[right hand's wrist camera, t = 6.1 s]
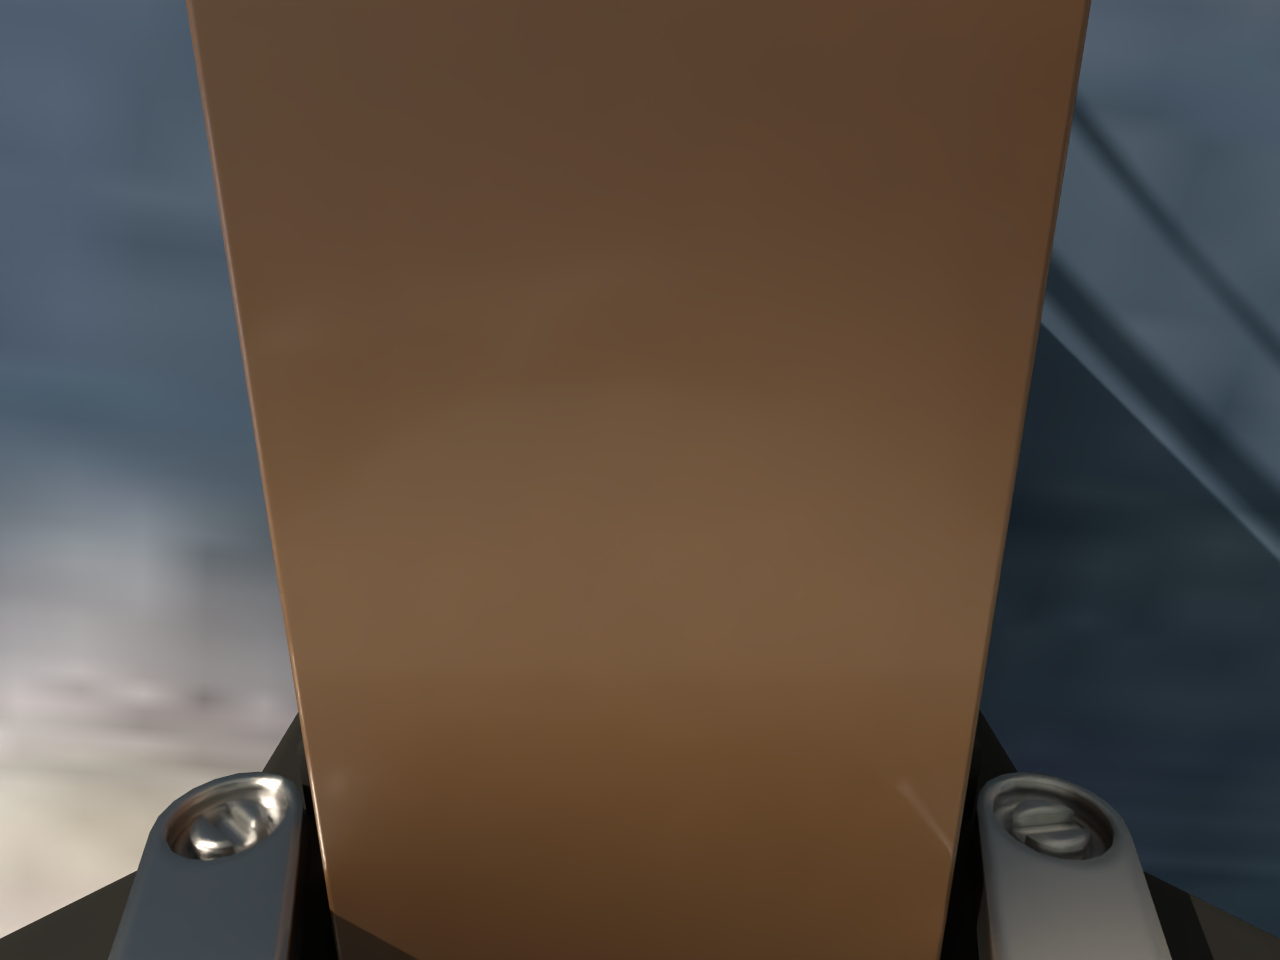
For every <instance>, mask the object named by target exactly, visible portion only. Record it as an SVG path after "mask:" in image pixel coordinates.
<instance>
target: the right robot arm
mask: <svg viewBox="0 0 1280 960" xmlns="http://www.w3.org/2000/svg"><path fill="white" fill-rule="evenodd" d="M0 960H338V958H337V951H336V945H335V939H334V932H333V926H332V920H331V913H330V907H329V901H328V895H327V888H326V882H325V876H324V869H323V863H322V857H321V850H320V844H319V838H318V831H317V825H316V819H315V812H314V806H313V800H312V794H311V787H310V781H309V775H308V768H307V762H306V756H305V749H304V743H303V737H302V730H301V724H300V718H299V712H298V714H297V715H296V717H295V719H294V720H293V722H292V723H291V725H290V727H289V728H288V730H287V732H286V733H285V735H284V737H283V738H282V740H281V742H280V743H279V745H278V747H277V748H276V750H275V751H274V753H273V755H272V756H271V758H270V760H269V761H268V763H267V765H266V766H265V768H264V770H263V771H262V772H251V773H238V774H234V775H230V776H226V777H222V778H218V779H214V780H212V781H210V782H208V783H205V784H203V785H201V786H198V787H196V788H194V789H192V790H190V791H189V792H187V793H186V794H184V795H183V796H181V797H180V798H178V799H177V800H175V801H174V802H173V803H172V804H171V805H170V806H169V807H168V808H167V809H166V810H165V811H164V812H163V813H162V814H161V815H160V816H159V817H158V818H157V820H156V822H155V824H154V826H153V827H152V829H151V831H150V833H149V836H148V839H147V842H146V845H145V849H144V852H143V855H142V858H141V861H140V864H139V867H138V870H137V871H135V872H133V873H131V874H129V875H127V876H125V877H123V878H121V879H119V880H117V881H115V882H113V883H111V884H109V885H107V886H105V887H103V888H101V889H99V890H97V891H95V892H93V893H91V894H89V895H87V896H85V897H83V898H81V899H79V900H77V901H75V902H73V903H71V904H69V905H67V906H65V907H63V908H61V909H59V910H57V911H55V912H53V913H51V914H49V915H47V916H45V917H43V918H41V919H39V920H37V921H35V922H33V923H31V924H29V925H27V926H25V927H23V928H21V929H19V930H17V931H15V932H13V933H11V934H9V935H7V936H5V937H3V938H1V939H0ZM940 960H1280V939H1279V938H1277V937H1275V936H1273V935H1271V934H1269V933H1267V932H1265V931H1263V930H1261V929H1259V928H1257V927H1255V926H1253V925H1251V924H1249V923H1247V922H1245V921H1243V920H1241V919H1239V918H1237V917H1235V916H1233V915H1231V914H1229V913H1226V912H1224V911H1222V910H1220V909H1218V908H1216V907H1214V906H1212V905H1210V904H1208V903H1206V902H1204V901H1202V900H1200V899H1198V898H1196V897H1194V896H1192V895H1190V894H1188V893H1186V892H1184V891H1182V890H1180V889H1178V888H1176V887H1174V886H1172V885H1170V884H1168V883H1166V882H1164V881H1162V880H1160V879H1158V878H1156V877H1154V876H1152V875H1150V874H1148V873H1146V872H1144V871H1143V870H1142V867H1141V864H1140V861H1139V858H1138V855H1137V852H1136V849H1135V845H1134V842H1133V839H1132V836H1131V833H1130V831H1129V829H1128V827H1127V826H1126V824H1125V822H1124V820H1123V818H1122V817H1121V816H1120V815H1119V814H1118V813H1117V812H1116V811H1115V810H1114V809H1113V808H1112V807H1111V806H1110V805H1109V804H1108V803H1107V802H1106V801H1105V800H1103V799H1102V798H1100V797H1099V796H1097V795H1096V794H1094V793H1093V792H1091V791H1090V790H1088V789H1086V788H1084V787H1082V786H1079V785H1077V784H1075V783H1072V782H1070V781H1068V780H1066V779H1062V778H1058V777H1054V776H1050V775H1046V774H1042V773H1029V772H1017V771H1016V769H1015V767H1014V766H1013V764H1012V762H1011V761H1010V759H1009V757H1008V756H1007V754H1006V752H1005V751H1004V749H1003V748H1002V746H1001V744H1000V743H999V741H998V739H997V738H996V736H995V734H994V733H993V731H992V729H991V728H990V726H989V724H988V723H987V721H986V719H985V718H984V716H983V715H982V713H981V711H980V710H979V715H978V721H977V728H976V734H975V740H974V747H973V753H972V759H971V766H970V772H969V778H968V785H967V791H966V797H965V804H964V810H963V816H962V823H961V829H960V835H959V842H958V848H957V854H956V861H955V867H954V873H953V880H952V886H951V892H950V899H949V905H948V911H947V918H946V924H945V930H944V937H943V943H942V949H941V956H940Z"/></svg>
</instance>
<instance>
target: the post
mask: <svg viewBox="0 0 1280 960" xmlns="http://www.w3.org/2000/svg"><path fill="white" fill-rule="evenodd" d="M186 5H187V11H188V17H189V24H190V30H191V36H192V42H193V49H194V55H195V61H196V68H197V74H198V80H199V87H200V93H201V99H202V106H203V112H204V118H205V125H206V131H207V137H208V143H209V150H210V156H211V162H212V169H213V175H214V181H215V188H216V194H217V200H218V207H219V213H220V219H221V226H222V232H223V238H224V244H225V251H226V257H227V263H228V270H229V276H230V282H231V289H232V295H233V301H234V308H235V314H236V320H237V326H238V333H239V339H240V345H241V352H242V358H243V364H244V371H245V377H246V383H247V390H248V396H249V402H250V409H251V415H252V421H253V427H254V434H255V440H256V446H257V453H258V459H259V465H260V472H261V478H262V484H263V491H264V497H265V503H266V510H267V516H268V522H269V528H270V535H271V541H272V547H273V554H274V560H275V566H276V573H277V579H278V585H279V592H280V598H281V604H282V610H283V617H284V623H285V629H286V636H287V642H288V648H289V655H290V661H291V667H292V674H293V680H294V686H295V693H296V699H297V705H298V711H299V718H300V724H301V730H302V737H303V743H304V749H305V756H306V762H307V768H308V775H309V781H310V787H311V794H312V800H313V806H314V812H315V819H316V825H317V831H318V838H319V844H320V850H321V857H322V863H323V869H324V876H325V882H326V888H327V895H328V901H329V907H330V913H331V920H332V926H333V932H334V939H335V945H336V951H337V958H338V960H940V956H941V949H942V943H943V937H944V930H945V924H946V918H947V911H948V905H949V899H950V892H951V886H952V880H953V873H954V867H955V861H956V854H957V848H958V842H959V835H960V829H961V823H962V816H963V810H964V804H965V797H966V791H967V785H968V778H969V772H970V766H971V759H972V753H973V747H974V740H975V734H976V728H977V721H978V715H979V709H980V702H981V696H982V690H983V683H984V677H985V670H986V664H987V658H988V651H989V645H990V639H991V632H992V626H993V620H994V613H995V607H996V601H997V594H998V588H999V582H1000V575H1001V569H1002V563H1003V556H1004V550H1005V544H1006V537H1007V531H1008V525H1009V518H1010V512H1011V506H1012V499H1013V493H1014V487H1015V480H1016V474H1017V468H1018V461H1019V455H1020V449H1021V442H1022V436H1023V430H1024V423H1025V417H1026V411H1027V404H1028V398H1029V392H1030V385H1031V379H1032V373H1033V366H1034V360H1035V354H1036V347H1037V341H1038V335H1039V328H1040V322H1041V316H1042V309H1043V303H1044V297H1045V290H1046V284H1047V278H1048V271H1049V265H1050V259H1051V252H1052V246H1053V240H1054V233H1055V227H1056V221H1057V214H1058V208H1059V202H1060V195H1061V189H1062V183H1063V176H1064V170H1065V163H1066V157H1067V151H1068V144H1069V138H1070V132H1071V125H1072V119H1073V113H1074V106H1075V100H1076V94H1077V87H1078V81H1079V75H1080V68H1081V62H1082V56H1083V49H1084V43H1085V37H1086V30H1087V24H1088V18H1089V11H1090V5H1091V0H186Z"/></svg>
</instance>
